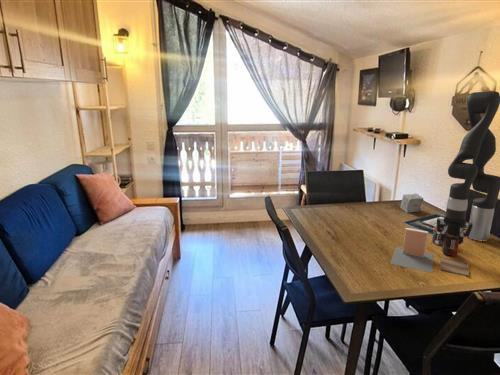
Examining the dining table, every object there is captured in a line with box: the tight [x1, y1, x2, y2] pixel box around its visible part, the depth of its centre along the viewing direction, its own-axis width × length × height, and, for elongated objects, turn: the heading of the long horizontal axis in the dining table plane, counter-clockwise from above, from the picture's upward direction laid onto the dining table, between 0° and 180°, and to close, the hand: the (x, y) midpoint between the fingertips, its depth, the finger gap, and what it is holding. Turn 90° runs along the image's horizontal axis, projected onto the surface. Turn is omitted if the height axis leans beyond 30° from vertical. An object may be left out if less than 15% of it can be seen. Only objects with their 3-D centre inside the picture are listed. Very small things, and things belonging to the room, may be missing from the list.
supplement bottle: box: [431, 222, 446, 247], centre depth 161 cm, size 6×6×11 cm
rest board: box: [440, 256, 470, 278], centre depth 140 cm, size 12×10×1 cm
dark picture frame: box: [402, 212, 467, 236], centre depth 185 cm, size 22×30×2 cm
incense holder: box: [400, 193, 424, 214], centre depth 206 cm, size 10×8×10 cm
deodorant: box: [441, 222, 462, 256], centre depth 149 cm, size 6×6×15 cm
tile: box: [402, 227, 429, 257], centre depth 149 cm, size 2×9×12 cm, turn 60°
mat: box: [390, 247, 434, 274], centre depth 147 cm, size 18×16×1 cm
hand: (451, 242), depth 149 cm, fingers closed on deodorant, 6 cm apart
